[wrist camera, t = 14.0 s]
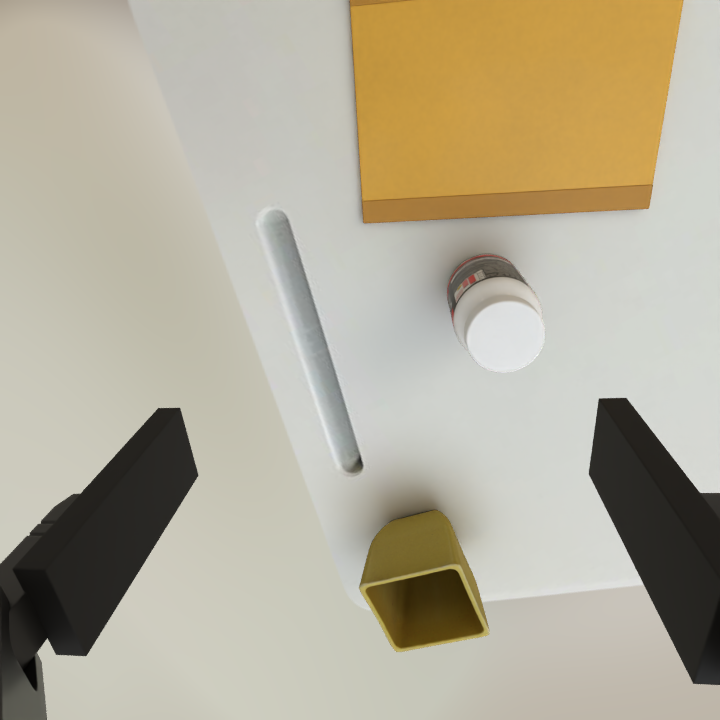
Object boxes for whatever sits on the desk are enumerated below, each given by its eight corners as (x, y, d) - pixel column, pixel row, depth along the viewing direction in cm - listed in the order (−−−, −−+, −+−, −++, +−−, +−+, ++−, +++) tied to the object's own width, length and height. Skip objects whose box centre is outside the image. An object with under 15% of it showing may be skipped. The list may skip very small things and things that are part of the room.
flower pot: (479, 555, 50) (491, 637, 42) (397, 573, 52) (395, 655, 44) (451, 488, 47) (459, 563, 39) (365, 510, 49) (356, 586, 41)
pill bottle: (431, 291, 39) (436, 340, 30) (484, 236, 37) (506, 271, 28) (483, 337, 40) (503, 396, 31) (537, 286, 38) (575, 334, 29)
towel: (349, -23, 31) (347, -25, 31) (689, -60, 29) (695, -64, 28) (364, 222, 37) (363, 223, 37) (645, 207, 35) (649, 208, 35)
